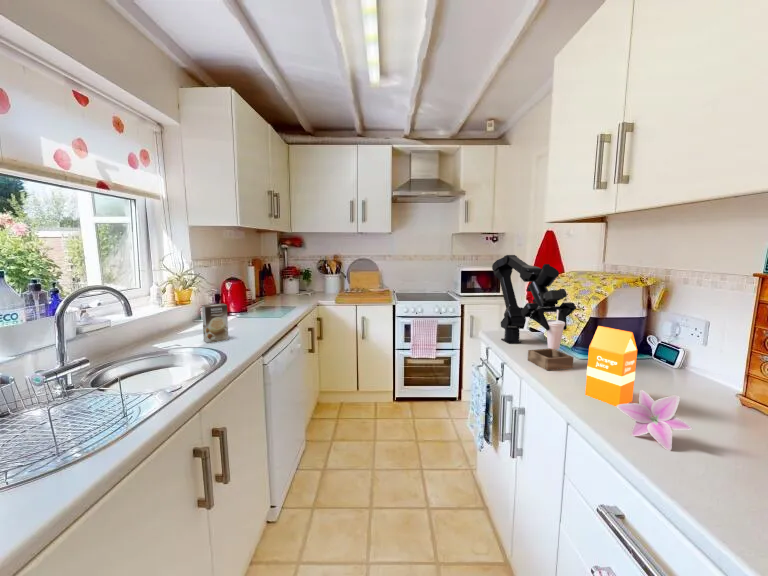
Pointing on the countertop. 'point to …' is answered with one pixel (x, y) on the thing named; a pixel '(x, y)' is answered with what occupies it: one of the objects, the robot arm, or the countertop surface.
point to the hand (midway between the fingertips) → (557, 329)
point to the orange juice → (611, 366)
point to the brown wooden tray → (550, 359)
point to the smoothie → (555, 332)
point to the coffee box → (215, 322)
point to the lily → (655, 417)
